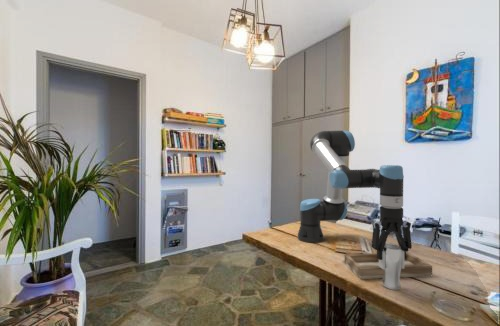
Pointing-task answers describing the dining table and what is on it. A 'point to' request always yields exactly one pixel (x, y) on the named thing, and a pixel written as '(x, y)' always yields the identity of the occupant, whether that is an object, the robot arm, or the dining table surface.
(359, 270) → the tray
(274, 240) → the dining table surface
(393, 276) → the metal cup
